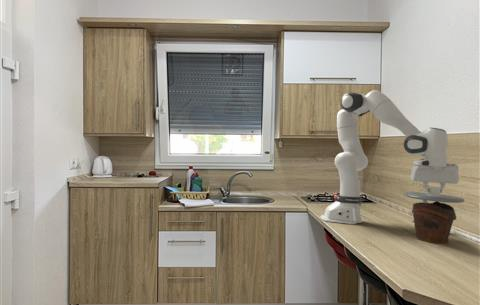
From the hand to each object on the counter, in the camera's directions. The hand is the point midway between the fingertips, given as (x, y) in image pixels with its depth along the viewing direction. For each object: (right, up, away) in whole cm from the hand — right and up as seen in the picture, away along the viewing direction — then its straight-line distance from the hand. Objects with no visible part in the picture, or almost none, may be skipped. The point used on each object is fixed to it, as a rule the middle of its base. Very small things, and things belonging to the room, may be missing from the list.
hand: (433, 192), depth 154 cm
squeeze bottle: (+6, -22, +21) cm, 31 cm away
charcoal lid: (0, -3, 0) cm, 3 cm away
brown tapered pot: (-1, -22, 0) cm, 22 cm away
